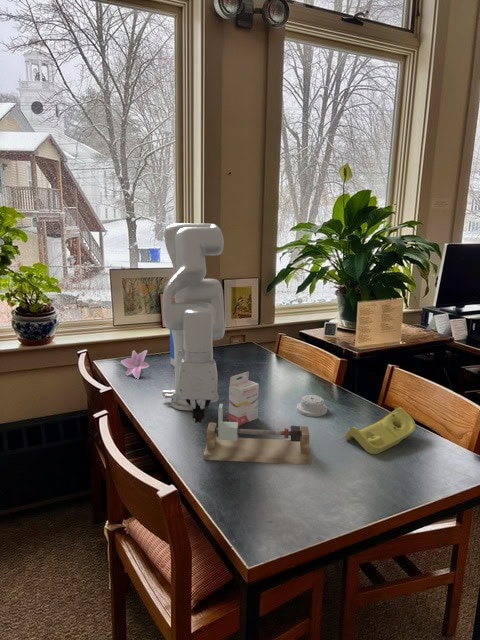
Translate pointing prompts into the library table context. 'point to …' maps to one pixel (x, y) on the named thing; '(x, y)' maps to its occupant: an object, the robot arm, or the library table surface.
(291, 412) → the library table surface
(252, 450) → the lead screw slide
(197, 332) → the robot arm
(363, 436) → the plastic component
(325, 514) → the library table surface
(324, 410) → the mechanical component
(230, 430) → the pale green slide carriage
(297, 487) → the library table surface
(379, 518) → the library table surface
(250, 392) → the ink cartridge box
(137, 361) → the lily
